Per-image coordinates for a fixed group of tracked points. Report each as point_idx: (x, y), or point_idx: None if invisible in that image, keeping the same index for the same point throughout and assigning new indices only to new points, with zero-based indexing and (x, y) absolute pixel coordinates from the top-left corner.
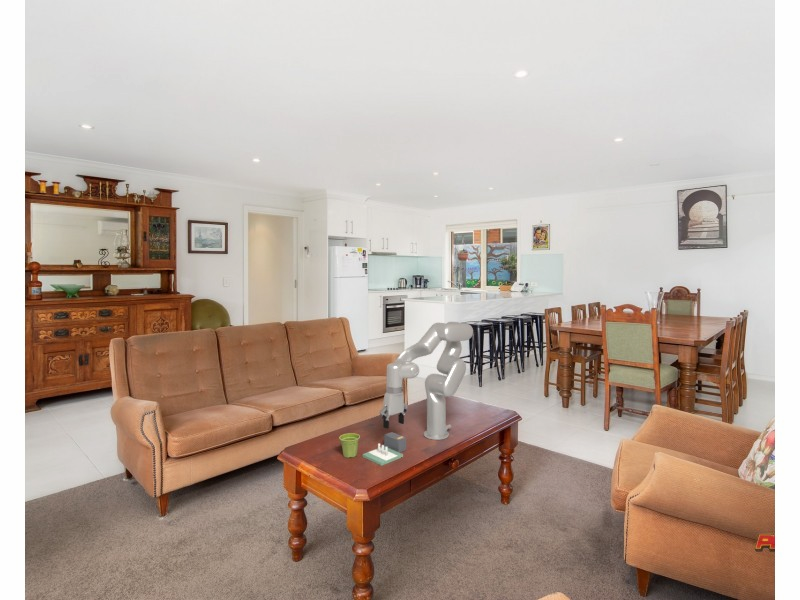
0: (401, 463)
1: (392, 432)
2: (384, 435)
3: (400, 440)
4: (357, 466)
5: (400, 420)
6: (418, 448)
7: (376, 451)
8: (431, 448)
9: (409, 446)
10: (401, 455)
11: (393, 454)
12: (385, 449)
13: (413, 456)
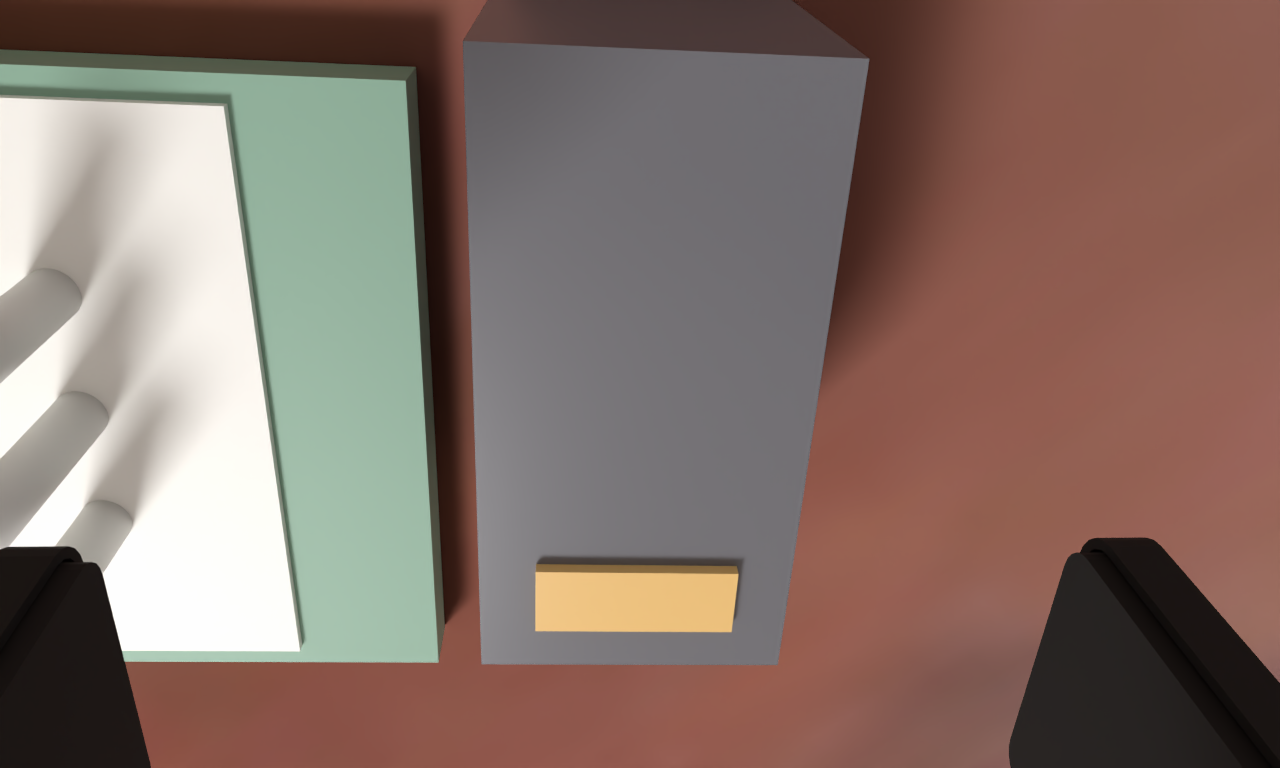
0: (244, 755)
1: (843, 121)
2: (469, 59)
3: (558, 646)
4: None
5: (1098, 765)
6: (940, 574)
7: (15, 212)
8: None
9: (921, 402)
10: (395, 654)
11: (261, 579)
12: None
13: (595, 715)
